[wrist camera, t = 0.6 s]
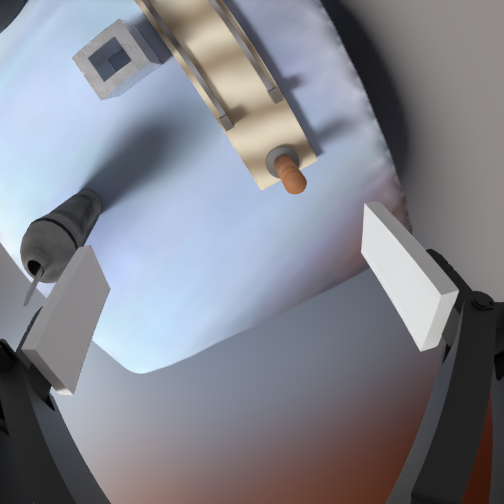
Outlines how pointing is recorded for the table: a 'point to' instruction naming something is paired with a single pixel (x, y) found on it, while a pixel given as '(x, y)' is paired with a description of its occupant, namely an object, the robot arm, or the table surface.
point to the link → (106, 45)
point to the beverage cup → (58, 238)
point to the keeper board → (235, 88)
